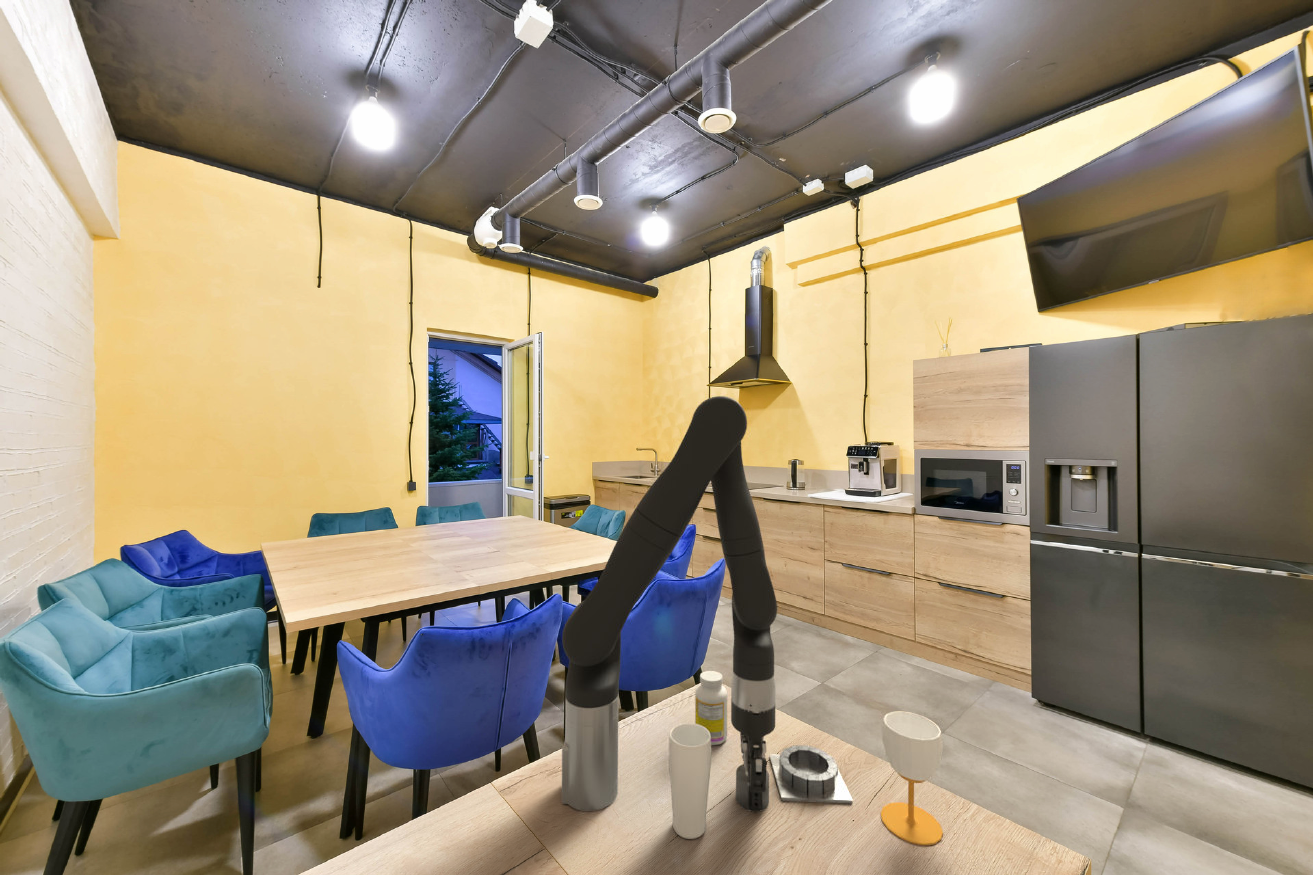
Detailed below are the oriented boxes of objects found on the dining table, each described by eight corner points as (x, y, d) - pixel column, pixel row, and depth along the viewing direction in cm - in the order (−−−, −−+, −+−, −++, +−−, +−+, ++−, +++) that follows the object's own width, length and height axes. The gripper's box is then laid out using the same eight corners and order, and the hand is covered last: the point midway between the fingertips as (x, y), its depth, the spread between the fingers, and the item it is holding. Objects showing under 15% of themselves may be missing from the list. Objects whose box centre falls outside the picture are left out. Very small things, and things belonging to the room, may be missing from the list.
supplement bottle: (705, 724, 110) (705, 665, 110) (732, 735, 107) (733, 673, 107) (689, 739, 105) (689, 677, 105) (717, 750, 101) (717, 686, 101)
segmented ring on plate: (781, 800, 87) (781, 782, 87) (769, 756, 99) (769, 741, 99) (852, 803, 87) (852, 785, 87) (831, 759, 99) (831, 743, 99)
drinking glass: (708, 848, 77) (709, 749, 77) (664, 840, 78) (665, 743, 78) (712, 815, 84) (713, 724, 84) (672, 809, 85) (672, 720, 85)
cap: (737, 810, 85) (738, 783, 85) (734, 787, 91) (734, 761, 91) (771, 812, 85) (771, 784, 85) (765, 789, 90) (766, 763, 90)
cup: (911, 798, 88) (911, 706, 88) (956, 837, 80) (957, 735, 80) (868, 809, 85) (869, 714, 85) (910, 851, 77) (911, 745, 77)
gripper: (727, 677, 95) (726, 767, 95) (735, 720, 81) (735, 826, 81) (767, 678, 95) (767, 769, 95) (783, 721, 80) (782, 828, 80)
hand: (752, 795), depth 88 cm, fingers closed on cap, 5 cm apart
